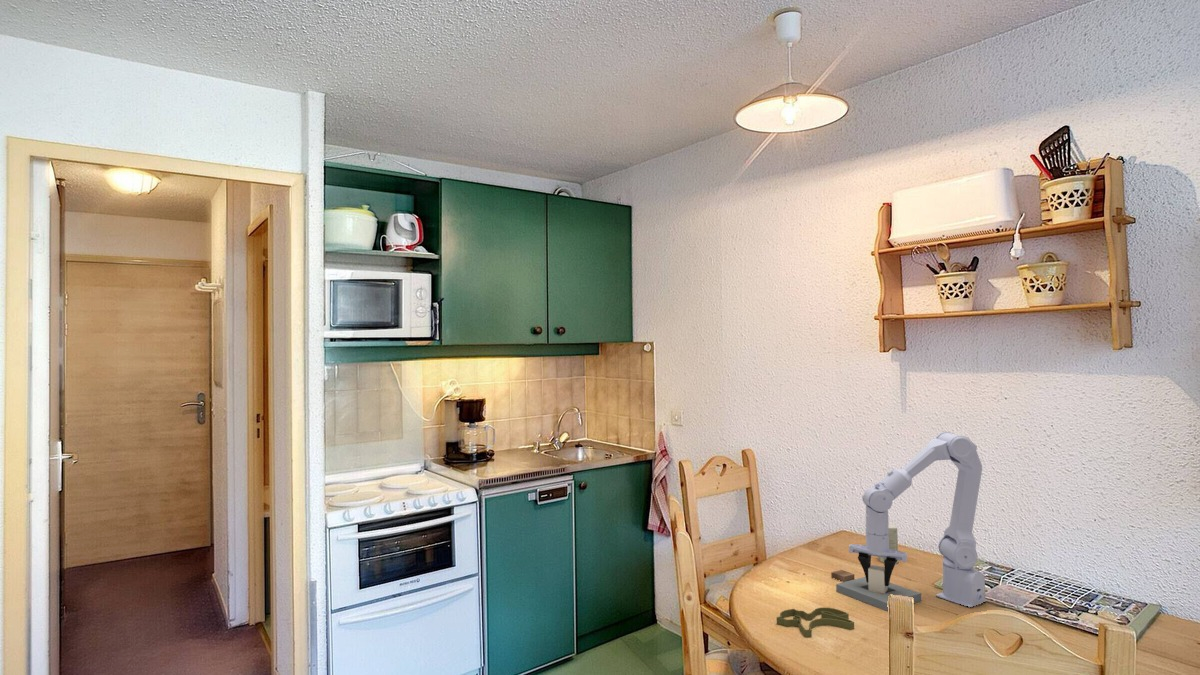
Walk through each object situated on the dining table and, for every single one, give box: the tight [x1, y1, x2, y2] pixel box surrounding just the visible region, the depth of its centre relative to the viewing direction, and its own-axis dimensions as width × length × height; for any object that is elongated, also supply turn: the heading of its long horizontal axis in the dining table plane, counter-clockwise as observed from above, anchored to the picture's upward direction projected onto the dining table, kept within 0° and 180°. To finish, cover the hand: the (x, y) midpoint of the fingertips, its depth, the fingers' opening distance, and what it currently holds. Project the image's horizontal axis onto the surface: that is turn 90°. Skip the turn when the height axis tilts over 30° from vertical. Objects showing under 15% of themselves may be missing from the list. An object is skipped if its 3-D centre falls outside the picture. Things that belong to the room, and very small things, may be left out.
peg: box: [868, 564, 888, 595], centre depth 174 cm, size 4×4×6 cm
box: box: [877, 524, 899, 564], centre depth 204 cm, size 5×4×11 cm
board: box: [835, 576, 922, 612], centre depth 174 cm, size 16×14×2 cm
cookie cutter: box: [776, 607, 855, 638], centre depth 156 cm, size 18×12×2 cm, turn 109°
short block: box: [830, 569, 855, 583], centre depth 187 cm, size 4×4×2 cm
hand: (877, 583), depth 174 cm, fingers open, 4 cm apart
